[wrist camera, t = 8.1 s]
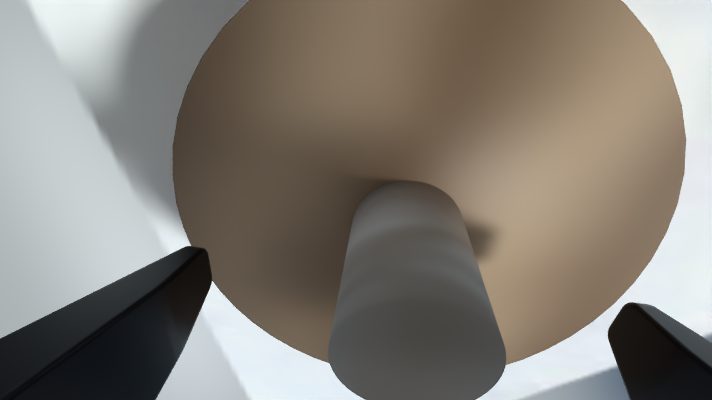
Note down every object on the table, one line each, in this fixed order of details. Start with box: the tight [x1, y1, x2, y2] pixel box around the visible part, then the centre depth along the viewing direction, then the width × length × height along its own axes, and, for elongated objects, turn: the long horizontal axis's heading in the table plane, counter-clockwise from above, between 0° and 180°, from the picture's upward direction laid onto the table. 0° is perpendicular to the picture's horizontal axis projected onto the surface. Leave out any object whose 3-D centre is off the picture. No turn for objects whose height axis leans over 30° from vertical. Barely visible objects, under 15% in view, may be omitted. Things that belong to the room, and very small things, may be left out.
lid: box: [173, 0, 686, 400], centre depth 8 cm, size 13×13×5 cm
